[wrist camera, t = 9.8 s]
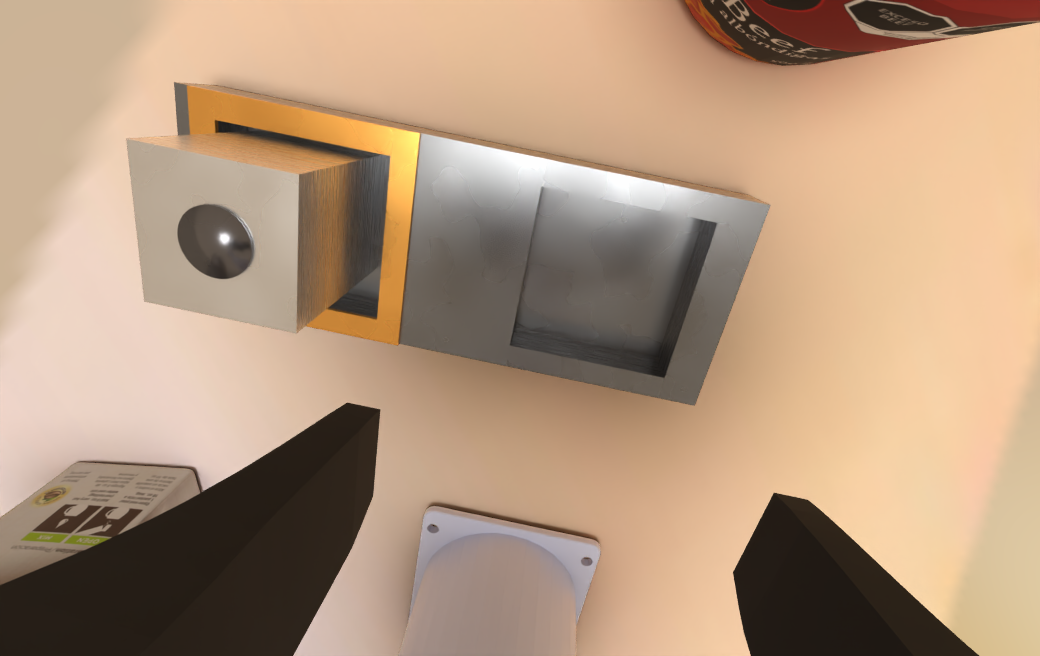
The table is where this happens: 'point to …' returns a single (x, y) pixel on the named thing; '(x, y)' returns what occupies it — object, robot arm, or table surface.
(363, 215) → the silver square slider
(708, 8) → the canned food
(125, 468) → the coffee box
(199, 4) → the table surface
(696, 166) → the table surface
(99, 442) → the table surface
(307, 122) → the rail
